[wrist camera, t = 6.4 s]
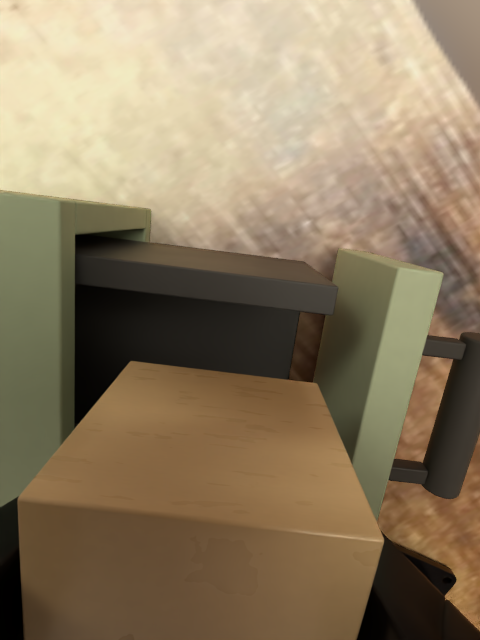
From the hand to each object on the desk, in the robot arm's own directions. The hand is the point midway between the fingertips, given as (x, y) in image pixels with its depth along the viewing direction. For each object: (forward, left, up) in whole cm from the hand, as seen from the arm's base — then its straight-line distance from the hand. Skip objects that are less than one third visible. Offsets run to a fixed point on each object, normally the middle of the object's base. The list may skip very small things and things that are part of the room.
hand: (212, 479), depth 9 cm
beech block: (0, 0, -1) cm, 1 cm away
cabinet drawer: (-1, 0, -8) cm, 8 cm away
